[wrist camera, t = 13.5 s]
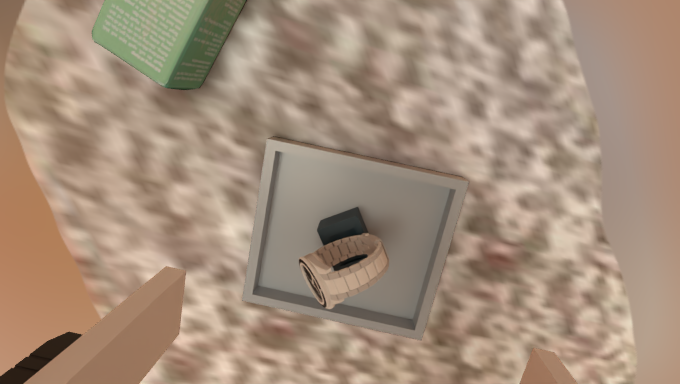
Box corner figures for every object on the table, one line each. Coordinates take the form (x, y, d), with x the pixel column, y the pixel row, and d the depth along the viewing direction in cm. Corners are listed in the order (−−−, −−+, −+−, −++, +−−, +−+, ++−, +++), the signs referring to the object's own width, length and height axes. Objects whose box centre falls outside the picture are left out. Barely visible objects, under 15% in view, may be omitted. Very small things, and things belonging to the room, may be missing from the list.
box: (137, 51, 38) (83, 40, 30) (198, -78, 35) (154, -126, 27) (199, 92, 38) (161, 91, 31) (265, -31, 35) (240, -66, 28)
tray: (418, 326, 43) (421, 340, 40) (249, 289, 43) (242, 300, 41) (462, 176, 38) (469, 182, 36) (273, 136, 39) (267, 138, 36)
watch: (303, 226, 40) (281, 271, 30) (373, 200, 39) (376, 238, 28) (323, 271, 41) (308, 330, 31) (391, 247, 40) (401, 301, 29)
